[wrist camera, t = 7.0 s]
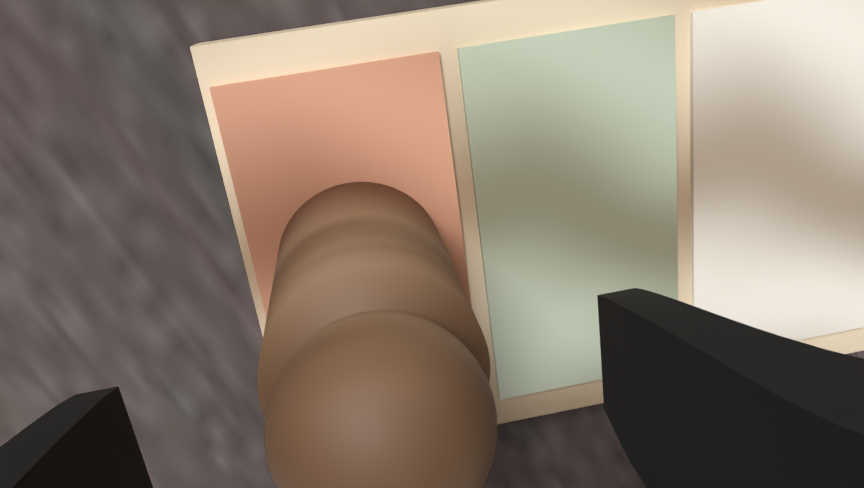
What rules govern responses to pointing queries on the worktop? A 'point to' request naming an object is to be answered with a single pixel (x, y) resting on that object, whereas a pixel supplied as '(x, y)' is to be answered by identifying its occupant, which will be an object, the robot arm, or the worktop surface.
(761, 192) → the board
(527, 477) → the worktop surface
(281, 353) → the pawn
